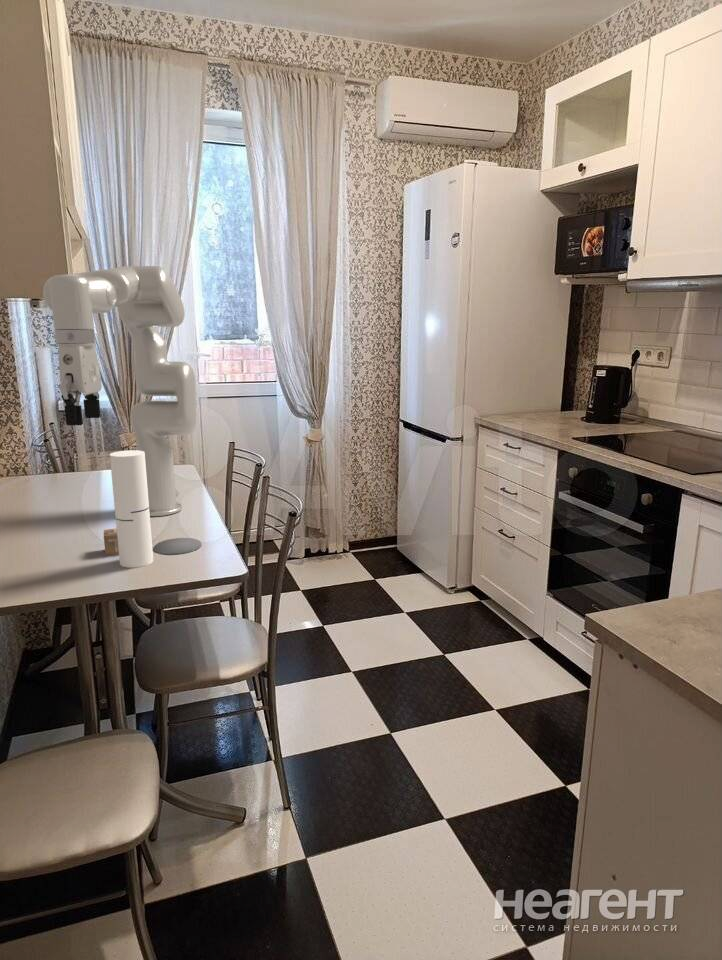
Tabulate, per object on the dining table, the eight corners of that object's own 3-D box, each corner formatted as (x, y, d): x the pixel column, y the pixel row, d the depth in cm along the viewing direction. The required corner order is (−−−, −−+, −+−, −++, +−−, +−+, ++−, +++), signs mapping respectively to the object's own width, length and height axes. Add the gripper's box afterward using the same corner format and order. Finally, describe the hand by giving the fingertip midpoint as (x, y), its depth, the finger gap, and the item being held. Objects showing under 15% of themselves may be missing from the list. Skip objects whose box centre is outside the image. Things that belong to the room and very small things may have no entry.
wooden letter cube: (105, 549, 152) (103, 529, 151) (127, 547, 154) (126, 526, 153) (105, 556, 148) (103, 535, 146) (128, 554, 149) (126, 533, 148)
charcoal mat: (166, 538, 160) (165, 537, 160) (208, 540, 159) (207, 538, 158) (146, 553, 149) (145, 551, 149) (190, 555, 148) (190, 554, 148)
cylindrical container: (156, 563, 143) (147, 454, 137) (123, 569, 139) (112, 457, 134) (149, 554, 149) (140, 449, 143) (117, 559, 145) (107, 452, 140)
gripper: (76, 339, 122) (86, 428, 127) (108, 337, 139) (116, 415, 143) (37, 339, 122) (48, 428, 126) (74, 337, 139) (82, 415, 143)
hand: (84, 421), depth 135 cm, fingers open, 9 cm apart
